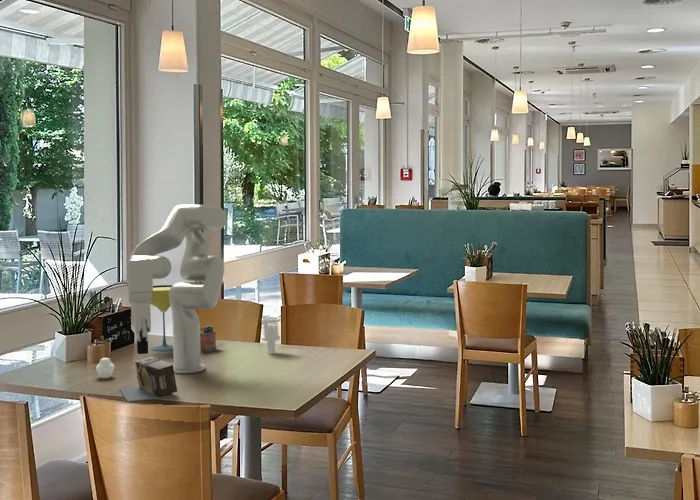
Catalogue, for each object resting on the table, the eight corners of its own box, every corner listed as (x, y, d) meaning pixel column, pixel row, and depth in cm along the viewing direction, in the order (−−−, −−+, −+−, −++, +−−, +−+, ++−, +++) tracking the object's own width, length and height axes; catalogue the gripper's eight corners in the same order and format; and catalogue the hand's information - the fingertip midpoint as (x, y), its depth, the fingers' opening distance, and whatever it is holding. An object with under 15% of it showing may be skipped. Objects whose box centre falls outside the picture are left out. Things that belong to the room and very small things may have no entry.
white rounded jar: (95, 376, 267) (94, 356, 266) (113, 374, 269) (113, 354, 269) (97, 380, 261) (96, 360, 261) (115, 378, 264) (115, 358, 263)
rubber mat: (119, 389, 248) (119, 388, 248) (163, 384, 254) (163, 383, 254) (127, 402, 233) (127, 401, 233) (173, 396, 239) (173, 395, 239)
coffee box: (133, 361, 248) (154, 369, 235) (152, 356, 252) (173, 364, 239) (138, 388, 249) (159, 398, 236) (156, 382, 253) (178, 391, 240)
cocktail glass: (152, 343, 323) (150, 284, 321) (193, 344, 321) (191, 285, 319) (134, 352, 305) (132, 290, 303) (177, 353, 303) (176, 290, 301)
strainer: (268, 350, 306) (267, 313, 305) (283, 352, 303) (282, 314, 302) (258, 354, 300) (258, 316, 299) (274, 355, 297) (273, 317, 296)
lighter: (212, 348, 313) (211, 324, 312) (218, 349, 311) (217, 324, 310) (197, 351, 306) (197, 327, 305) (203, 352, 304) (203, 327, 303)
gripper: (125, 294, 250) (127, 350, 251) (132, 300, 236) (134, 359, 238) (148, 293, 253) (150, 348, 255) (157, 298, 240) (158, 356, 241)
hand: (142, 353), depth 246 cm, fingers closed
